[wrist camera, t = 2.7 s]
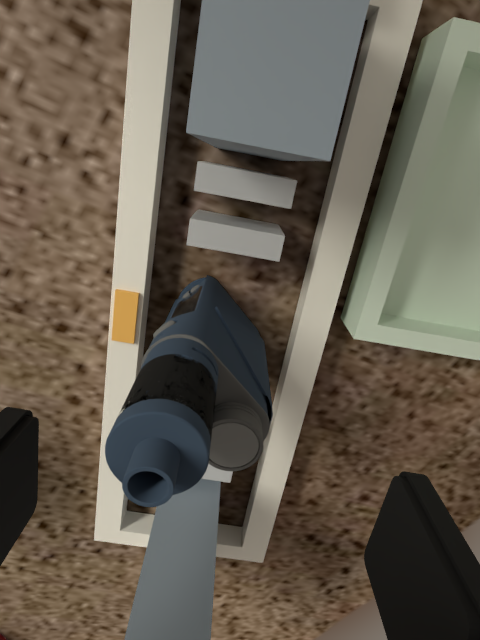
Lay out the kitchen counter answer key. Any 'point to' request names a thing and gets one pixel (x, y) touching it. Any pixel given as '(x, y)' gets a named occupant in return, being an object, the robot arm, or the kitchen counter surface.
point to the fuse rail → (240, 240)
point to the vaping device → (193, 399)
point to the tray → (427, 210)
